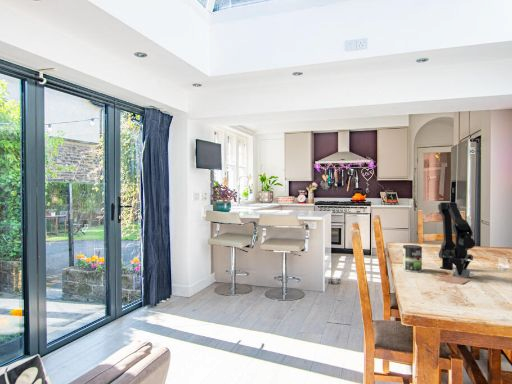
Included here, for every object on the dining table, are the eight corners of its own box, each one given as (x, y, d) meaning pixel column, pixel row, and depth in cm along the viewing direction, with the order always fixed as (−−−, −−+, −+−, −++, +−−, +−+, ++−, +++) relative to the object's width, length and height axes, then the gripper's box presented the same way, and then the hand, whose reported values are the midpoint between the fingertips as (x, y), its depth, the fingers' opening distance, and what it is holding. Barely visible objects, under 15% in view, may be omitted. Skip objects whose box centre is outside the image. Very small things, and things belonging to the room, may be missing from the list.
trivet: (445, 276, 199) (445, 275, 199) (470, 280, 190) (470, 279, 190) (436, 280, 191) (436, 278, 191) (461, 284, 182) (461, 283, 182)
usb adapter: (451, 276, 200) (451, 268, 200) (454, 274, 203) (454, 267, 203) (471, 279, 193) (471, 271, 193) (474, 278, 195) (474, 270, 195)
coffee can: (425, 271, 211) (426, 247, 210) (410, 272, 208) (410, 248, 208) (413, 267, 221) (413, 244, 220) (399, 268, 218) (399, 245, 218)
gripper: (452, 242, 210) (451, 269, 210) (438, 245, 198) (438, 274, 198) (473, 244, 202) (473, 272, 202) (461, 248, 189) (460, 278, 190)
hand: (461, 274), depth 198 cm, fingers closed on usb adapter, 4 cm apart
